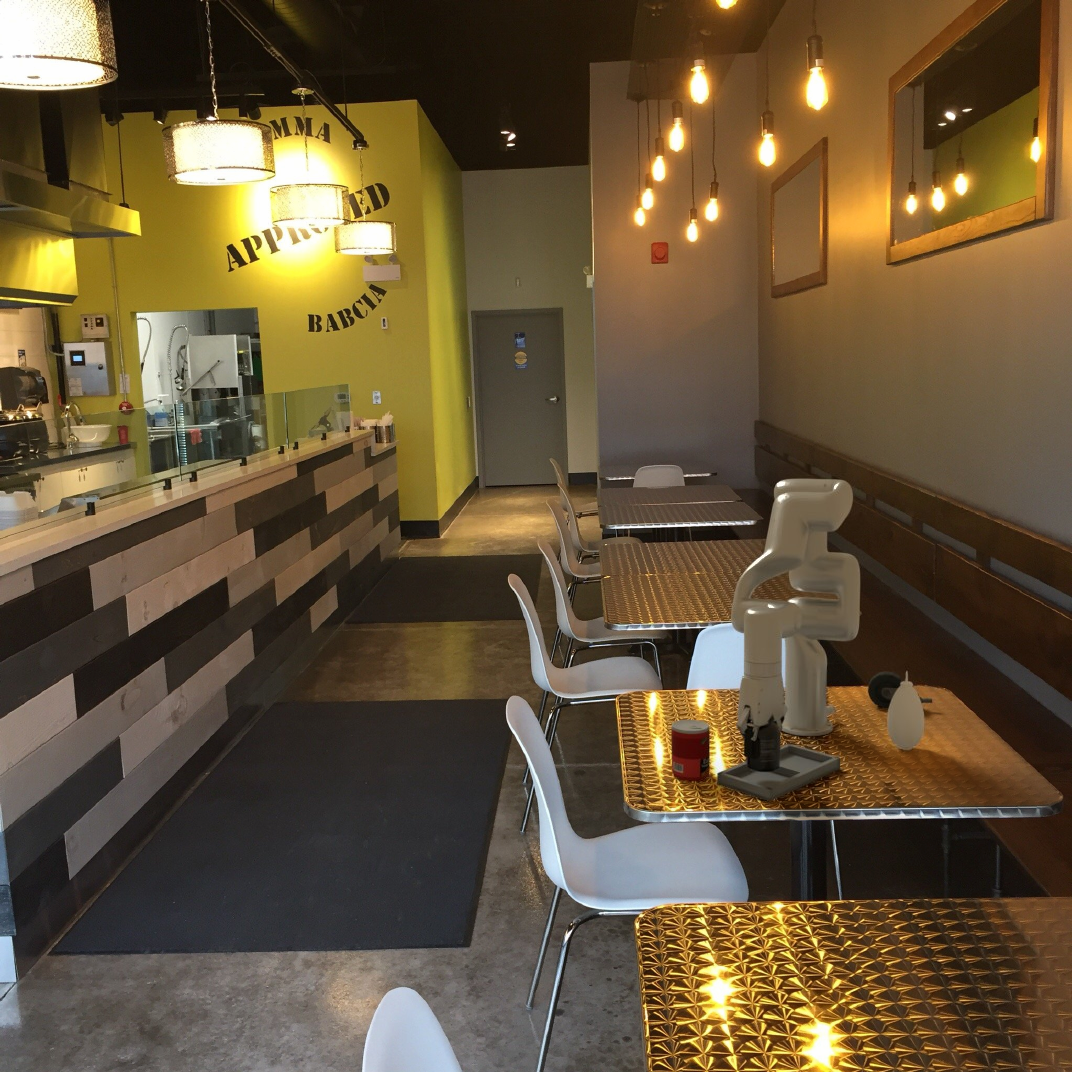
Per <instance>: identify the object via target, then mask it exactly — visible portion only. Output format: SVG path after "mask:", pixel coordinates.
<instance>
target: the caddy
mask: <svg viewBox="0 0 1072 1072" xmlns="http://www.w3.org/2000/svg"><path fill="white" fill-rule="evenodd" d="M839 770H841V757H838V756H835V755H833V754H832V755H831V754H828V753H825V752H820V751H817V750H813V749H810V748H806V747H802V746H798V745H796V744H795V745H794V744H792V743H787V744H784V745H782V746H781V747H780V766H779V768H778V769H777V770H775V771H771V772H757V771H753V770H751V769H749V768H748V767H747V765H746V760H745V761H743V762H741V763H739V764H735V765H734V766H732V767H728V768H726V769H724V770H722V771H718V772H717V775H716V778H717V779H716V781H717V782H716V783H717V786H719V787H723V788H726V789H729V790H733V791H735V792H738V791H740V792H739V793H741V792H743V793H742V794H744V793H745V794H744V795H747V794H748V795H747V796H750V795H751V796H750V797H753V796H754V798H756V797H758V798H757V799H759V798H761V799H760V800H762V799H764V800H763V801H765V800H768V801H771V800H773V801H775V800H777V799H779V798H781V797H784V796H786V795H787V794H790V793H792V792H794V791H796V790H798V789H800V788H803V787H805V786H807V785H809V784H811V783H813V782H815V781H817V780H819V779H822V778H824V777H826V776H828V775H831V774H832V773H835V772H837V771H839ZM791 791H792V792H791ZM789 792H790V793H789ZM785 794H786V795H785ZM780 796H781V797H780ZM778 797H779V798H778ZM776 798H777V799H776ZM774 799H775V800H774ZM768 801H767V802H768ZM771 802H772V801H771Z"/></svg>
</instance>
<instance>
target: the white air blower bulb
mask: <svg viewBox="0 0 1072 1072" xmlns="http://www.w3.org/2000/svg"><path fill="white" fill-rule="evenodd" d="M908 674H909V673H908V670H906V672H905V680H903V682H901V683H900V685H901V686H900V687H899V688H898V689H897V690H896V692H895V694H894V696H893V698H892V700H891V703H890V706H889V709H887V719H886V721H887V722H886V723H887V725H886V727H887V733H888V736H889V739H890V740H891V743H893V745H895V746H896V747H897V748H898V749H900V750H901V749H903V750H902V751H905V750H908V751H910V750H913V749H914V747H917V746H918V745H919V743H920V742H921V741H922V740H921V739H922V738H923V735H924V732H925V731H924V730H925V713H924V707H923V703H922V704H921V701H920V698H919V697H920V695H919V696H918V694H919V693H918V692H917V690H916V689H915V688H914V684H913V682H912V681H909V675H908ZM912 686H913V687H912ZM917 693H918V694H917Z"/></svg>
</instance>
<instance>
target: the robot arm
mask: <svg viewBox="0 0 1072 1072" xmlns="http://www.w3.org/2000/svg"><path fill="white" fill-rule="evenodd" d="M773 496H774V497H773V498H774V502H773V504H772V507H771V508H772V509H771V514H770V518H769V519H770V520H769V524H768V530H767V535H766V541H765V545H764V546H765V547H764V550H763V553H762V554H761V555H760V556H759V557H758V558H757V559H755V560H754V561H752V563H751V564H750V565H749V566H747V568H746V569H745V570H744V571H743V573H742V574H741V575H740V577H739V578H738V581H737V583H736V585H735V590H734V595H733V600H732V605H731V612H730V621H731V625H732V628H733V629H734V630H735V631H736V632H738V633H740V634H743V675H742V676H741V677H742V678H741V680H740V685H739V693H738V707H737V708H738V709H737V722H736V723H735V726H736V728H737V729H738V731H739V733H740V735H741V737H742V738H743V755H744V756H745V758H746V757H749V758H752V759H758V757H759V740H756V738H757V735H758V731H759V727H760V726H763V725H765V724H768V723H769V722H768V720H769V718H770V717H772V714H773V715H774V718H775V720H774V722H775V723H776V724H777V725H778V726H779V729H780V747H781V741H782V740H781V731H782V732H784V733H787V734H790V735H794V736H800V737H802V736H803V737H818V736H823V735H824V736H825V735H827V734H830V733H831V732H833V729H834V725H833V723H832V722H831V721H830V720H828V717H829V715H831V714H834V713H836V712H835V711H836V707H835V706H834V705H832V704H831V705H827V684H828V683H827V682H828V681H827V677H828V676H827V674H828V673H827V672H828V671H827V670H828V669H827V666H828V658H827V654H826V651H825V649H824V648H823V646H822V645H821V644H820V642H819V641H818V640H822V641H834V642H835V641H836V642H850V641H853V640H854V639H855V638H856V637H857V635H858V633H859V627H860V609H861V608H860V606H861V605H860V602H861V600H860V599H861V571H860V564H859V561H858V559H857V558H856V556H855V555H852V554H850V553H846V552H834V551H833V552H832V551H831V552H830V551H828V533H830V532H835V531H837V530H838V529H839V528H840V526H841V525H842V524H843V522H844V521H845V519H846V518H847V517H848V516H849V514H850V512H851V509H852V507H853V502H854V493H853V489H852V487H851V484H850V483H849V482H847V481H846V480H843V479H836V478H835V479H829V478H828V479H827V478H826V479H823V478H818V479H817V478H787V479H781V480H780V481H778V482H777V483H776V484H775V486H774V489H773ZM785 573H788V577H789V578H788V579H789V584H790V586H791V587H792V588H793V589H794V590H796V591H800V592H804V593H806V592H807V593H821V594H832V595H833V594H834V595H836V596H837V599H835V598H822V597H811V596H810V597H809V596H801V597H800V596H797V597H796V596H795V597H792V598H790V599H788V600H777V599H765V598H751V596H752V595H753V592H754V591H755V590H756V589H757V587H758V586H760V585H761V584H762V583H764V582H765V581H768V580H770V579H772V578H775V577H777V576H780V575H782V574H785ZM783 639H784V649H785V650H784V652H785V657H784V659H785V660H784V661H785V665H784V666H785V668H784V673H785V674H784V679H783V675H782V673H783V671H782V669H783V668H782V667H783V665H782V664H783ZM784 680H785V681H784ZM751 721H753V723H754V724H752V723H751ZM750 727H754V728H753V732H751V731H750V730H749V729H750Z"/></svg>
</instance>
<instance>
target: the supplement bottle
mask: <svg viewBox="0 0 1072 1072" xmlns="http://www.w3.org/2000/svg"><path fill="white" fill-rule="evenodd" d="M774 720H775V718H774V715H773V714H772V717H770V718H769V720H768V722H769V723H768V724H765V725H763V726H760V727H759V731H758V735H757V738H756V740H759V757H758V759H752V758H749V757H746V756H745V761H746V765H747V767H748V768H749V769H751V770H753V771H757V772H771V771H775V770H777V769H778V768H779V766H780V729H779V726H778V725H777V724H776V723H775V722H774ZM751 723H752V724H754V723H753V721H751ZM753 728H754V727H750V729H749V730H750V731H751V732H753Z"/></svg>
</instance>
